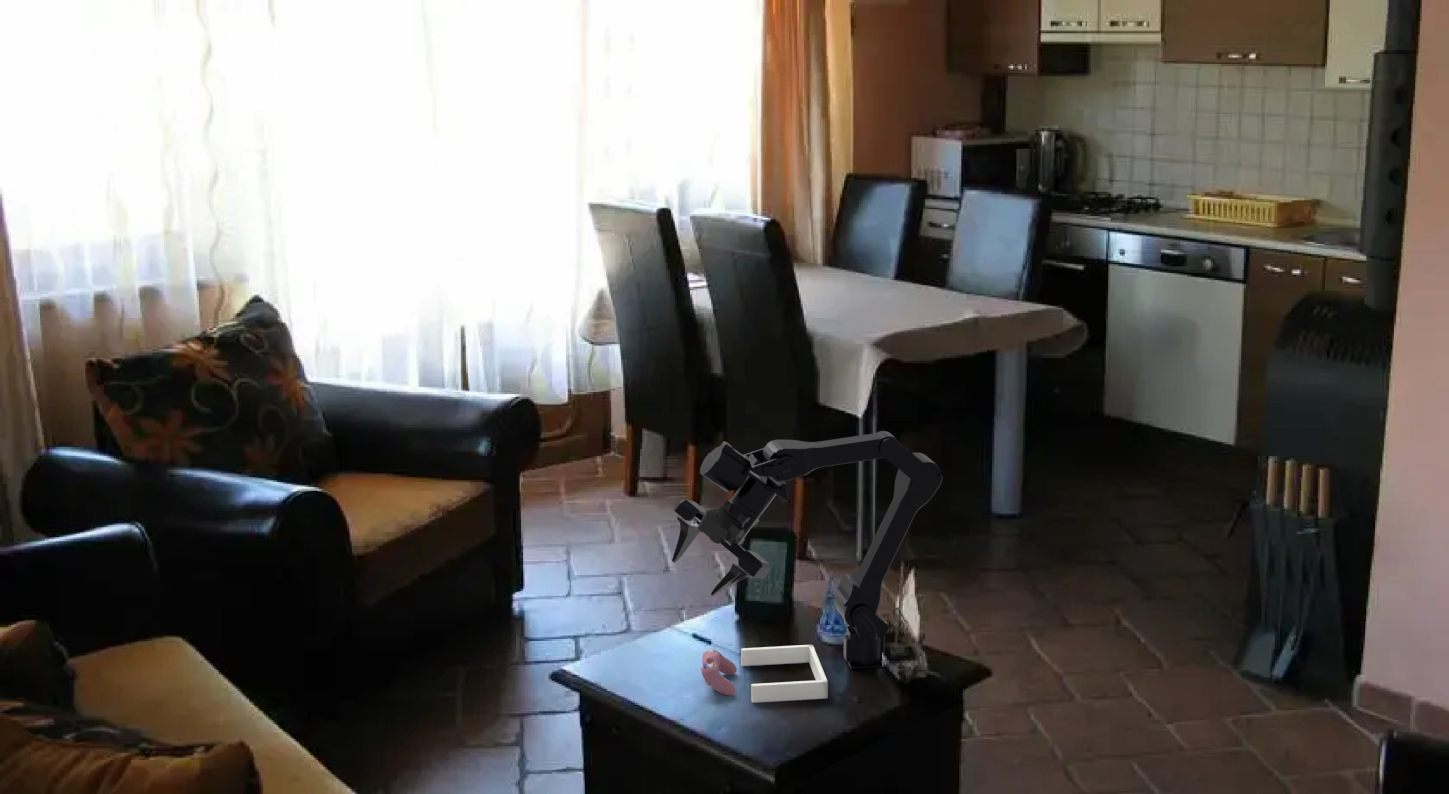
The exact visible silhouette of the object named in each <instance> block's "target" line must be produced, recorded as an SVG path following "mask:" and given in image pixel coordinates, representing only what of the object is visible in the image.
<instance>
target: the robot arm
mask: <svg viewBox="0 0 1449 794" xmlns="http://www.w3.org/2000/svg"><path fill="white" fill-rule="evenodd" d="M880 459H886V460H887V461H888V462H890V464H892V465H893V466H894V467H896V469H897V473H896V476H895V480H894V487H893V488H894V489H893V496H892V497H893V498H892V501H891V502H890V504H889V506H888V509H887V510H886V512H885V514H884V516H883V519H882V521H881V523H880V525H879V527H878V528H877V531H876V533H875V535H874V537H873V539H872V542H871V544H870V546H869V548H868V550H867V551H866V554H865V556H864V558H863V560H862V562H861V564H860V566H859V568H858V569H857V570H856V571H855V572H854V573H853V574H851V575H848V574H847V573H843V574H842V576H841V578H840V583H839V585H838V586H837V588H836V589H835V590H833V594H834V595H835V598H834V605H835V608H836V610H837V612H838V613H839V614H840V616H841V617H842V618H843V620H844V621H845V622H846V624H847V625H848V626H846V634H844V635H843V657H844V660H845V662H847V664H848V666H849V668H850V669H851V670H852V669H853V670H856V669H858V670H859V669H874V668H883V667H882V662H881V661H882V652H885V648H886V645H885V644H886V642H885V641H886V640H885V639H886V636H887V633H888V630H889V628H890V625H889V624H888V623H887V622H886V620H885V619H884V618H883V617H882V615H881V614H880V613H879V612H878V609H879V606H880V602H881V596H882V595H881V594H882V585H883V582H884V579H885V577H886V575H887V573H888V572H889V570H890V568H891V565H892V563H893V561H894V559H895V557H896V555H897V553H898V550H899V549H900V547H901V545H902V543H903V541H904V539H905V537H906V535H907V533H908V530H909V528H910V527H911V524H912V522H913V520H914V518H915V516H916V514H917V512H918V511H919V510H920V509H921V508H922V507H923V506H925V505H926V504H927V503H928V502H930V500H931V499H932V497H933V496H934V495H935V494H936V492H937V491H938V489H939V488H940V486H941V485H942V482H943V479H944V478H943V473H942V470H941V467H939V465H938V464H937V463H935V462H934V461H933V460H932V459H930V458H929V457H928V455H926V454H924V453H922V452H912V451H911V450H910V449H908V448H907V447H906V446H905V445H904V444H902V443H900V441H899V440H898V438H896V437H895V436H894V435H893V434H892V433H890V432H889V431H886V430H880V431H877V432H876V433H869V434H862V435H853V436H847V437H841V438H834V439H828V440H827V439H826V440H821V441H812V442H811V441H803V440H796V439H774V440H770V441H769V442H767V443H766V445H765V446H764V447H763V448H760V449H757V450H753V451H751V452H748V453H744V454H742V453H741V452H739V451H738V450H736V449H735V448H734V447H732V445H731V444H729V443H728V442H727V441H723V442H722V443H721V444H720V446H717V447H716V448H713V450H712V451H711V452H709V453H708V454H707V455H706V456H705V458H704V459H703V461H702V463H701V466H700V468H699V469H700V470H699V473H700V475H702V476H703V477H705V478H706V479H708V480H709V481H710V482H712V483H713V484H715V485H716V486H717V487H719V488H721V489H722V490H723V491H725V492H726V493H729V492H731V491H733V492H735V493H734V495H733V496H732V498H730V499H729V500H726V502H724V503H723V505H722V506H720V507H719V508H714V509H711V510H706V509H704V508H703V507H702V506H701V505H700V504H699V503H697V502H696V501H693V500H689V499H687V498H685V499H682V500H680V501H679V502H678V503H677V505H675V507H674V509H673V511H674V513H676V514H677V515H678V516H676V520H677V521H678V522H679V529H680V530H679V531H680V532H679V535H678V539H677V542H676V546H675V550H674V552H673V555H672V558H671V562H672V563H677V562H678V560H679V559H681V557H682V556H683V555H684V553H685V552H686V551H687V549H688V548H689V547H690V545H692V543H693V541H694V540H695V539H696V537H698V535H699V533H703V534H704V535H706V536H707V537H708V538H709V540H710V541H711V542H713V543H714V544H717V545H718V544H721V546H723V547H724V548H725V549H727V550H728V551H729V552H730V553H732V555H734V556H735V557H736V558H737V560H738V561H737V562H738V563H732V564H731V567H730V569H729V571H728V572H727V573H726V574H725V575H724V576H723V577H722V579H721V580H720V581H718V583H717V584H716V586H714V588H713V590H712V591H711V592H710V595H711V596H713V597H715V596H716V595H718V594H719V593H721V592H723V591H724V590H726V589H728V588H729V587H730V586H732V585H734V584H736V583H738V582H740V581H742V580H744V579H746V578H751V579H761V580H764V579H765V578H766V577H767V575H768V573H769V572H770V570H771V563H769V562H768V561H767V560H766V559H765V558H763V557H762V556H760V555H759V554H758V552H756V551H751V550H748V549H747V550H746V549H745V548H744V547H742V546H741V545H742V544H744V542H745V541H746V539H745V538H746V536H747V534H748V533H749V532H750V531H751V529H752V528H753V526H757V525H758V523H759V522H760V517H761V516H762V514H763V513H764V512H765V510H766V509H767V508H768V507H769V506H770V504H771V503H772V501H773V500H774V498H776V496H778V497H779V498H781V499H782V500H784V501H786V502H787V501H788V500H789V494H788V484H787V483H786V482H789V481H792V480H795V479H797V478H801V477H804V476H806V475H808V474H810V473H812V472H813V471H814V470H817V469H820V468H825V467H827V468H828V467H834V466H840V465H846V464H847V465H848V464H853V463H859V462H867V461H873V460H880ZM772 477H773V478H774V479H776V480H777V481H776V480H774V479H773V478H772Z"/></svg>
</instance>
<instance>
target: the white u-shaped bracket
mask: <svg viewBox="0 0 1449 794" xmlns="http://www.w3.org/2000/svg"><path fill="white" fill-rule="evenodd" d="M740 660H741V661H740V665H741V667H750V666H765V665H769V666H770V665H785V664H803V663H804V664H805V663H806V664H807V663H809V667H810V669H811V671H812V674H813V676H814V679H815V680H799V681H783V682H782V681H781V682H765V683H751V684H750V686H751V687H750V688H751V689H750V691H751V693H750V694H751V703H752V704H753V703H756V704H757V703H767V702H768V703H771V702H772V703H773V702H785V701H787V702H788V701H805V700H806V701H807V700H818V699H819V700H820V699H822V700H823V699H828V697H829V696H828V695H829V691H828V690H829V689H828V687H829V686H828V684H829V682H828V679H827V677H826V674H825V671H824V669H823V666H822V664H821V661H820V659H819V657H818V654H817V653H816V649H815V647H814V645H813V644H803V645H802V644H800V645H781V646H780V645H779V646H764V647H747V648H746V647H744V648H743V647H742V648H741V649H740Z"/></svg>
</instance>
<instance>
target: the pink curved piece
mask: <svg viewBox="0 0 1449 794" xmlns="http://www.w3.org/2000/svg"><path fill="white" fill-rule="evenodd" d="M701 657H702V659H701V661H702V667H701V668H700V671H701V674H702V677H703V680H704V681H705V682H706V684H707V686H710V687H711V688H712V689H713V690H714V691H717V692H718V693H720V694H722V695H724V696H726V697H729V696H734V695H735V694H736V687H735V685H734V684H733V683H732V682H731V681H730V680H728V679H727V678H725V676H723V675H722V674H725V675H730V676H733V675H735V674H736V673H737V666H736V664H735V663H734V662H732V661H731V660H730V659H728V658H727V657H725V656H724V655H722V653H720V651H718V650H717V649H715V648H713V649H708V650H707V651H705V652H703V653H702V656H701ZM721 673H722V674H721Z"/></svg>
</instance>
